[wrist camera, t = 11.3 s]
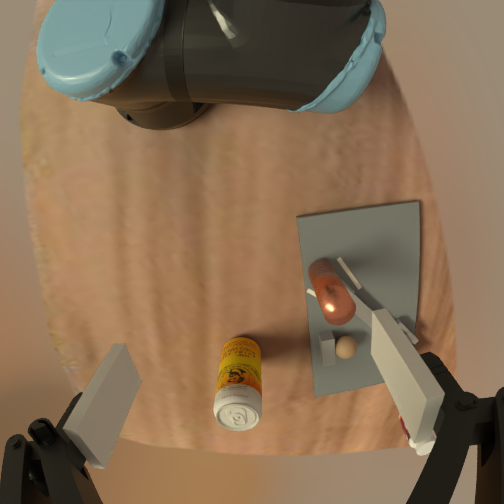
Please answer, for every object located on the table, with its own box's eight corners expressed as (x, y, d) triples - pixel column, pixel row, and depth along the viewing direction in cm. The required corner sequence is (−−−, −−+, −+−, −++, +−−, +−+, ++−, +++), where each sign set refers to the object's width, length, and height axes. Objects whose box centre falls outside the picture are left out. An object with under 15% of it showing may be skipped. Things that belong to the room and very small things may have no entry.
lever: (424, 345, 48) (453, 385, 37) (401, 366, 49) (425, 410, 38) (325, 248, 42) (348, 282, 31) (296, 277, 44) (309, 319, 33)
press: (296, 216, 42) (301, 224, 38) (415, 200, 41) (431, 206, 37) (314, 392, 52) (318, 411, 48) (406, 372, 51) (415, 388, 47)
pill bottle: (419, 397, 54) (438, 433, 43) (426, 410, 55) (444, 444, 45) (394, 413, 55) (410, 451, 45) (402, 425, 57) (418, 461, 46)
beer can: (256, 331, 48) (256, 398, 34) (264, 361, 50) (266, 429, 36) (218, 337, 49) (206, 404, 34) (228, 366, 50) (220, 434, 36)
